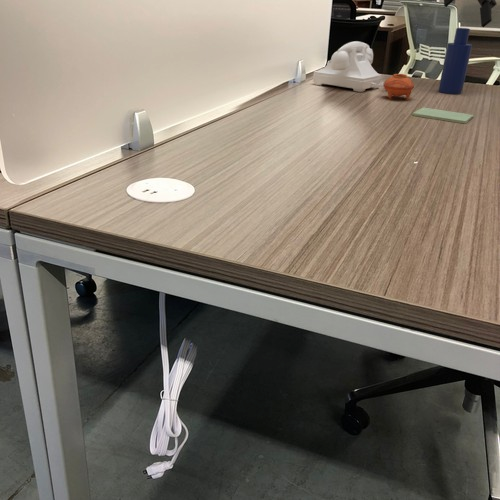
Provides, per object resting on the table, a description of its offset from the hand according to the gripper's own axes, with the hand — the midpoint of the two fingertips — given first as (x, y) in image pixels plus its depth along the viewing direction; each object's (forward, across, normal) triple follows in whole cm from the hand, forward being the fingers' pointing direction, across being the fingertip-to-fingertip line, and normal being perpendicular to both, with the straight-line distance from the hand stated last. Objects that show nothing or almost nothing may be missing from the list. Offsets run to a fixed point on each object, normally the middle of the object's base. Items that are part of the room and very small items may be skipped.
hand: (468, 13), depth 135 cm
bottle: (+12, -8, -15) cm, 21 cm away
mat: (+37, +11, 0) cm, 39 cm away
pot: (+22, +12, -15) cm, 30 cm away
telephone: (+10, +15, -29) cm, 34 cm away
